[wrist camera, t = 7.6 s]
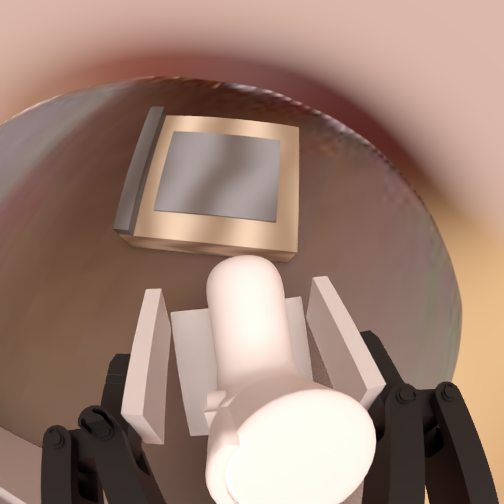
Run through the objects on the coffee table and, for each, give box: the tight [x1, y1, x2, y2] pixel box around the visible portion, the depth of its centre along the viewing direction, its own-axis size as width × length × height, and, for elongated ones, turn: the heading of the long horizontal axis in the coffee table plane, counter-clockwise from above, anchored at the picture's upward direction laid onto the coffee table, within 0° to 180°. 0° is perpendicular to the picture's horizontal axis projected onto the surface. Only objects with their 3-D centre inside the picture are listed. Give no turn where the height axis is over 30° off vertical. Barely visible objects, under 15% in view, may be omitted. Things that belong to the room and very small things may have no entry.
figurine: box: [171, 255, 376, 504], centre depth 10 cm, size 7×9×15 cm
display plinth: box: [113, 107, 299, 263], centre depth 27 cm, size 16×14×6 cm
